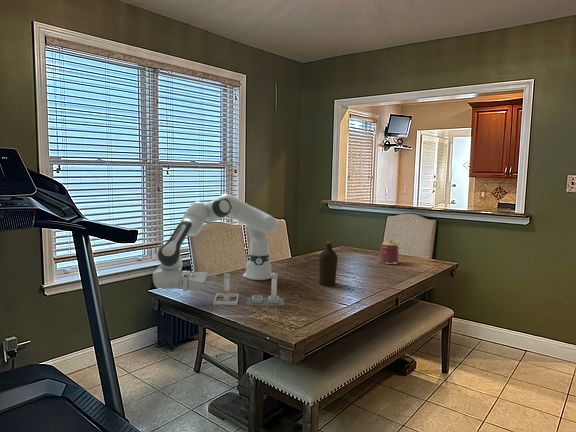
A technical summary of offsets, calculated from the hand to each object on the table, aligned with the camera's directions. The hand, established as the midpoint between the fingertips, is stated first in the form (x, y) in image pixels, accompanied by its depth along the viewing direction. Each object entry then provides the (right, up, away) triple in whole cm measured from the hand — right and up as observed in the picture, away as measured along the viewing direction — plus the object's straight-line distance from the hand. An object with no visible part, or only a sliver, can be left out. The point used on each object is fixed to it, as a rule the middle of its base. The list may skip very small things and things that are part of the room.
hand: (215, 280), depth 212 cm
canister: (+108, -3, +108) cm, 153 cm away
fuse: (+28, -11, +4) cm, 30 cm away
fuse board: (+24, -12, +4) cm, 27 cm away
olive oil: (+58, -9, +44) cm, 73 cm away
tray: (+5, -11, +3) cm, 12 cm away
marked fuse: (+5, -11, +3) cm, 12 cm away
